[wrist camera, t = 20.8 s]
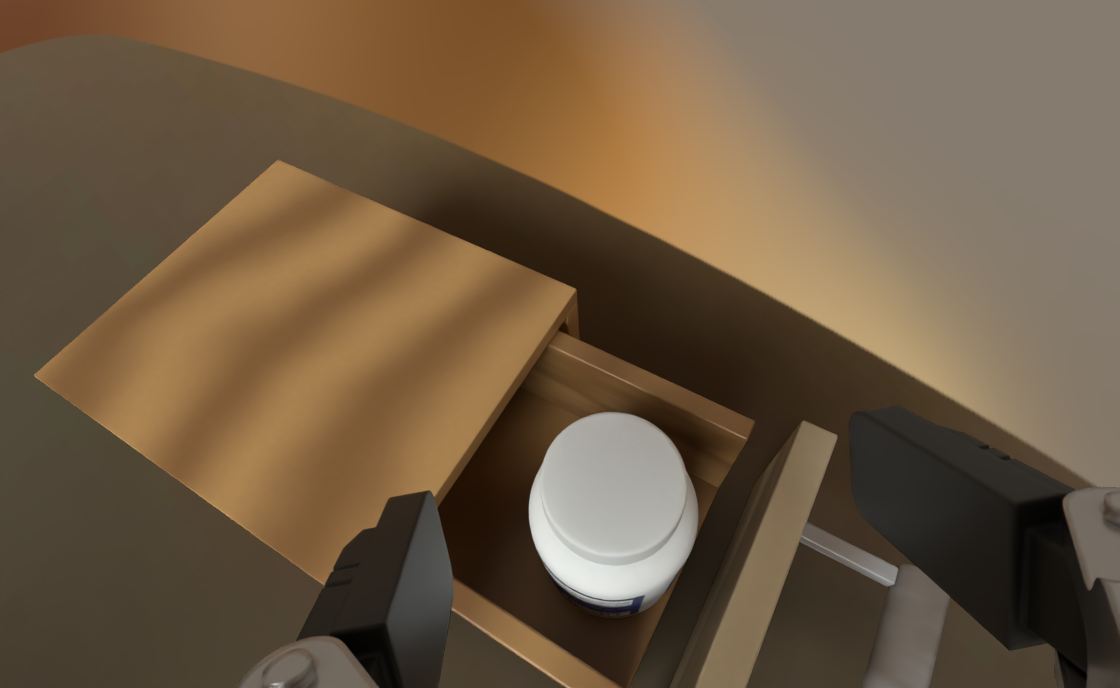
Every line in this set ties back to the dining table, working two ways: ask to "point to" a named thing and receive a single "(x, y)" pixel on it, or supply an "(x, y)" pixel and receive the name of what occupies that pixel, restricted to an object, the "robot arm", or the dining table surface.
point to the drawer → (749, 563)
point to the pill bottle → (613, 513)
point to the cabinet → (313, 360)
